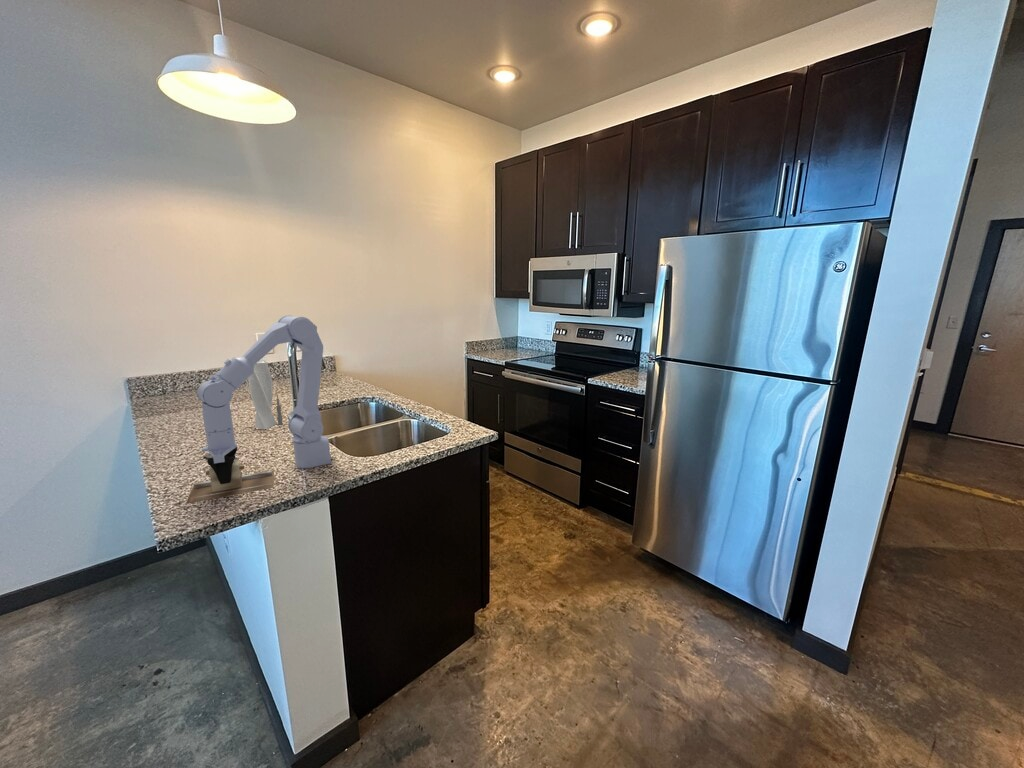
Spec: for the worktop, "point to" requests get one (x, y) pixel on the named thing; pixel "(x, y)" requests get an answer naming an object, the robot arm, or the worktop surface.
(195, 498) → the board
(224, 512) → the worktop surface
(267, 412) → the skyscraper
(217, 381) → the robot arm
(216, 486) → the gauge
